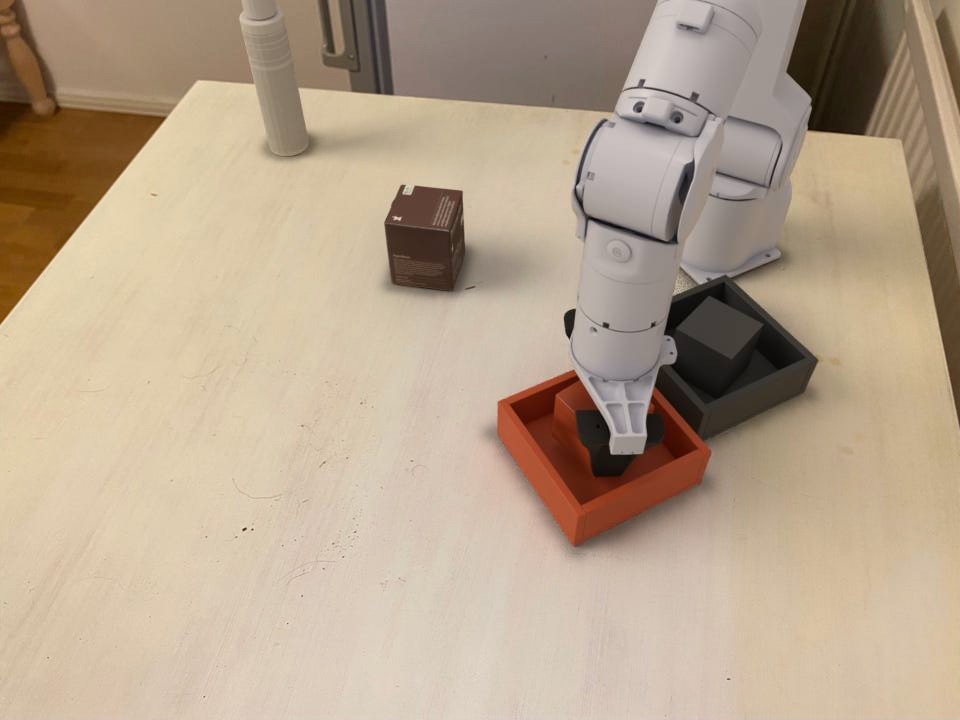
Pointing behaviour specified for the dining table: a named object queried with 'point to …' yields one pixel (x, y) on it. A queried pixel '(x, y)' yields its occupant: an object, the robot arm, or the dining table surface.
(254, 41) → the bottle
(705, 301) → the grey block
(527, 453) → the rust bin
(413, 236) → the box
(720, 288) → the charcoal bin
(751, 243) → the robot arm
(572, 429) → the red block
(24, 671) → the dining table surface
